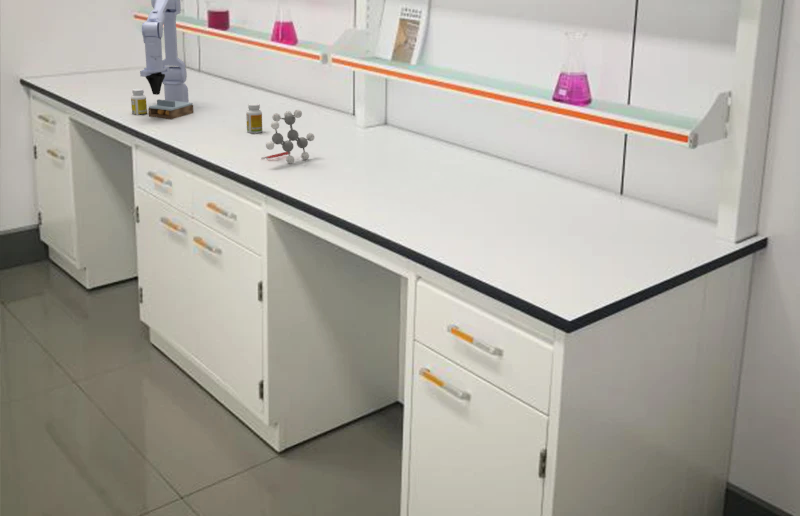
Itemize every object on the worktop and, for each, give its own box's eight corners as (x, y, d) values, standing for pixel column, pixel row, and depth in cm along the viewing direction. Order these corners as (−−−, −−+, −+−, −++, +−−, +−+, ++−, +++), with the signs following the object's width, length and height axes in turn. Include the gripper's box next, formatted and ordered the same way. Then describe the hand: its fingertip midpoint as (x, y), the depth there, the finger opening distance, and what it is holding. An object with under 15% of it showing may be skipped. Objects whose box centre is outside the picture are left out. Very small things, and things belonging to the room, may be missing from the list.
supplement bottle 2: (265, 131, 316) (264, 104, 313) (256, 134, 312) (255, 106, 308) (253, 129, 318) (252, 102, 315) (243, 132, 314) (242, 104, 311)
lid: (170, 102, 342) (170, 95, 341) (192, 104, 338) (192, 97, 337) (148, 108, 329) (148, 100, 329) (171, 110, 326) (170, 103, 325)
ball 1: (160, 114, 334) (159, 107, 333) (166, 115, 333) (166, 108, 332) (155, 116, 331) (155, 108, 331) (162, 116, 331) (161, 109, 330)
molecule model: (293, 159, 290) (284, 111, 287) (328, 155, 280) (318, 105, 277) (248, 171, 275) (237, 120, 272) (283, 167, 265) (272, 114, 262)
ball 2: (168, 115, 333) (168, 108, 332) (174, 116, 332) (174, 108, 331) (164, 117, 330) (163, 109, 329) (170, 117, 329) (170, 110, 328)
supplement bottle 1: (149, 114, 337) (147, 88, 334) (144, 117, 332) (142, 91, 329) (135, 114, 338) (133, 88, 334) (130, 116, 333) (128, 90, 329)
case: (171, 112, 343) (170, 102, 342) (193, 114, 340) (193, 104, 338) (149, 118, 331) (148, 108, 329) (171, 121, 327) (171, 110, 326)
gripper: (156, 53, 328) (158, 90, 332) (131, 57, 315) (134, 96, 319) (173, 54, 325) (175, 92, 330) (148, 59, 312) (151, 98, 317)
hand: (156, 94), depth 324 cm, fingers closed
